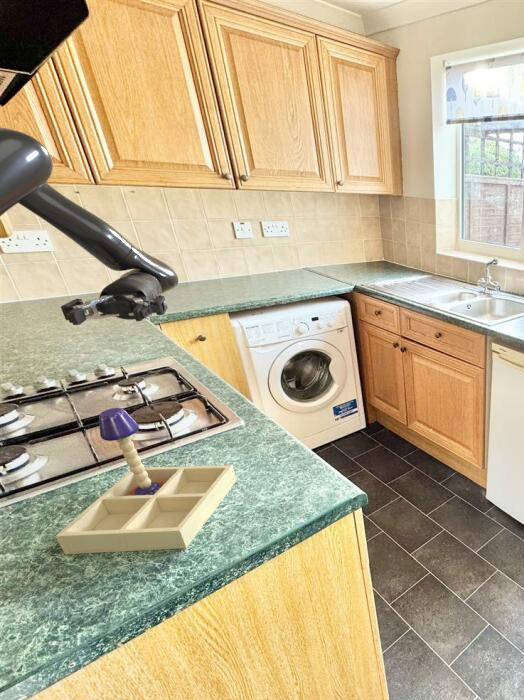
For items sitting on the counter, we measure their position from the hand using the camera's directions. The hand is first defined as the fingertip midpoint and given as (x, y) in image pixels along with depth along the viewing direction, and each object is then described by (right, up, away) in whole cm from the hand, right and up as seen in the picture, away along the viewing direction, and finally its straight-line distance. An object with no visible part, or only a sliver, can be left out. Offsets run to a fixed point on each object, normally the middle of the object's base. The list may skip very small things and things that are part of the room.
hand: (106, 317), depth 74 cm
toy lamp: (+8, -31, -1) cm, 32 cm away
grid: (+13, -33, -4) cm, 36 cm away
